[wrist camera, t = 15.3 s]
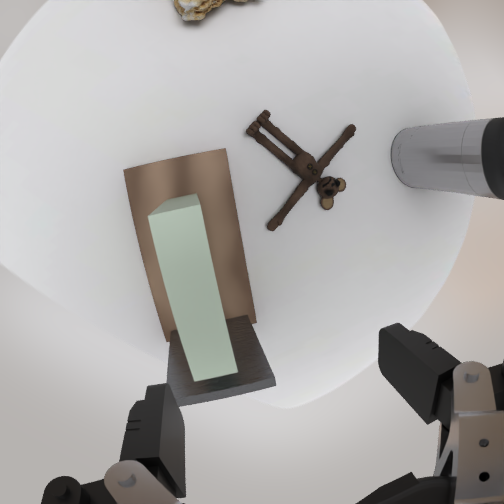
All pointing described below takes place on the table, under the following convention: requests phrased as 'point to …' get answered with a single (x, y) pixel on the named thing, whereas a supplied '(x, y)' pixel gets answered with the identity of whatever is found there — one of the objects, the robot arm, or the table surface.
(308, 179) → the wooden monkey figure
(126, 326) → the table surface
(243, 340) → the grey metal bookend
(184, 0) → the mineral formation
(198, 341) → the sage book
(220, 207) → the walnut shelf board
